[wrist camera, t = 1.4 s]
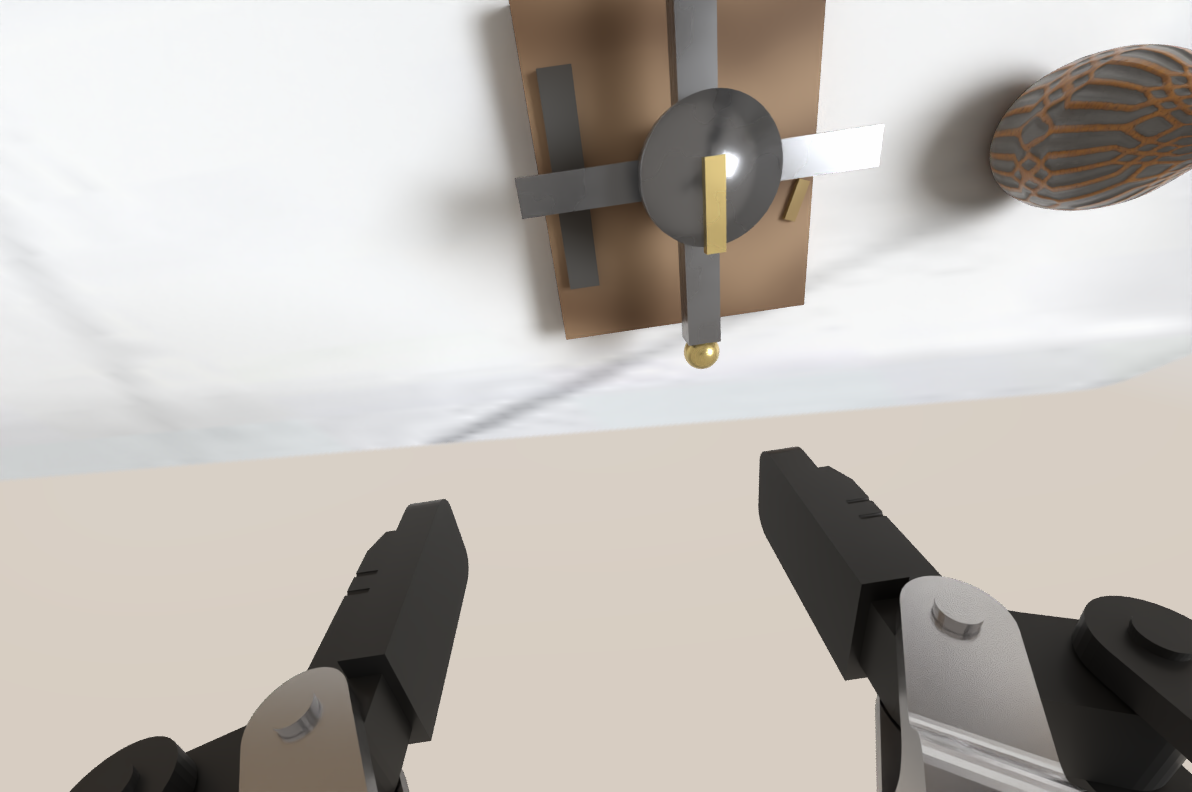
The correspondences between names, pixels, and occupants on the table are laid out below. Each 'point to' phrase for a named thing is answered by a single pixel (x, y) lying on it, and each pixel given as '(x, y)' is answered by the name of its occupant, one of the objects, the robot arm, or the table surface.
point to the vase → (1098, 130)
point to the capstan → (702, 170)
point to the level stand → (617, 133)
